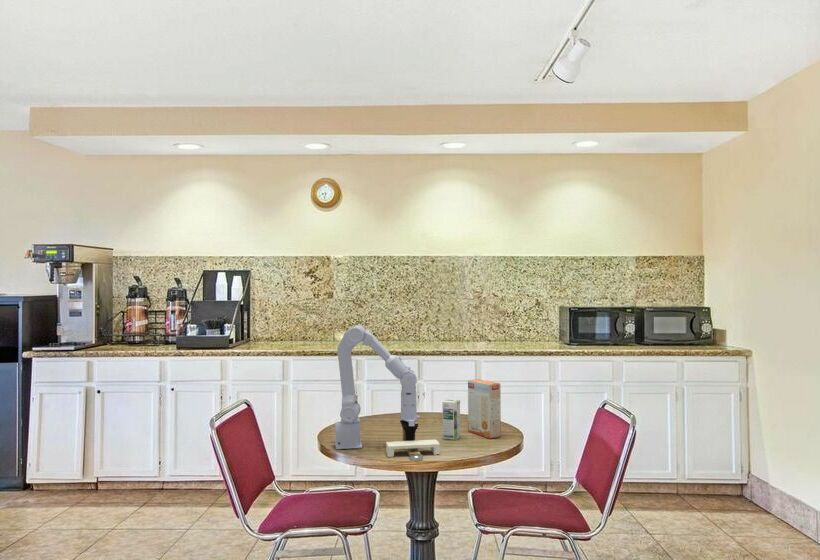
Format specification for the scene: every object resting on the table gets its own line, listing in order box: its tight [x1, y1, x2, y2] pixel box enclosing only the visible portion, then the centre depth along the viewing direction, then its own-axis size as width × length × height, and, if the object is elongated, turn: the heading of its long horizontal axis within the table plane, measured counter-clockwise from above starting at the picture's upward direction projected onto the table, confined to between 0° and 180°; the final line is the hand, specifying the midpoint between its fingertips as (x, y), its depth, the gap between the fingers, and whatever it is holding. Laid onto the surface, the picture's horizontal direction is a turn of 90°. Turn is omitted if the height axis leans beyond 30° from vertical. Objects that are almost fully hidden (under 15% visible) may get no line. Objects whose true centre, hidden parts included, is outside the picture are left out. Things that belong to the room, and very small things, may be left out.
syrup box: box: [441, 398, 461, 441], centre depth 214 cm, size 6×6×14 cm
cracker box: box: [467, 378, 502, 439], centre depth 219 cm, size 14×6×21 cm, turn 31°
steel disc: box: [409, 453, 424, 461], centre depth 187 cm, size 4×4×1 cm
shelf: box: [385, 439, 441, 458], centre depth 193 cm, size 18×6×4 cm, turn 99°
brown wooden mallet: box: [402, 428, 421, 457], centre depth 197 cm, size 4×16×6 cm, turn 9°
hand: (408, 441), depth 202 cm, fingers closed on brown wooden mallet, 4 cm apart
